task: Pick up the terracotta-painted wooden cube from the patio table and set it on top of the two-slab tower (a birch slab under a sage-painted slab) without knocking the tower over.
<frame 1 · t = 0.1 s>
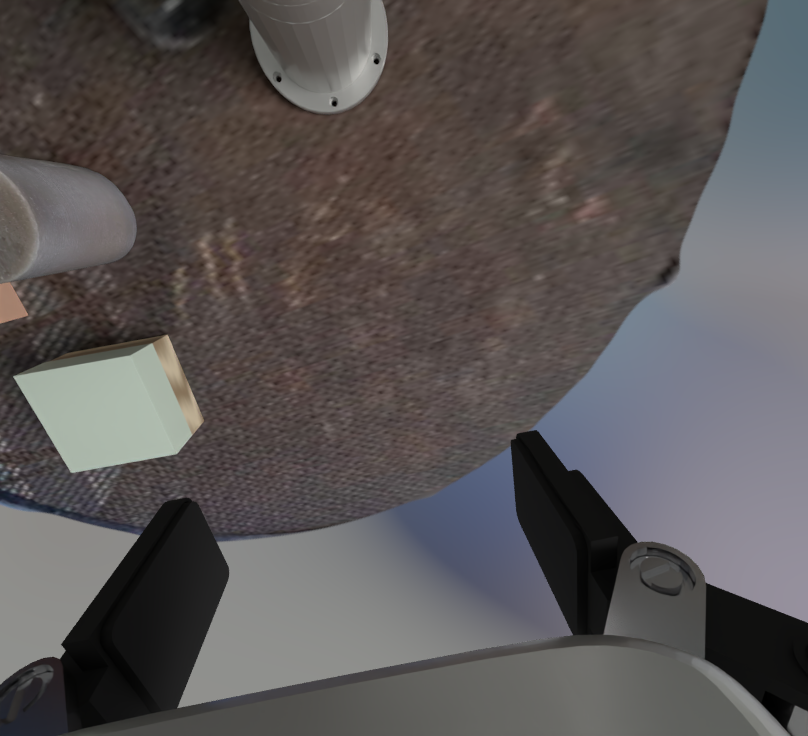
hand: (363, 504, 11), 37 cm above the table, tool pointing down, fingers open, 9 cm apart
pillar candle: (91, 217, 41), on the table
sage slab: (122, 400, 44), point 4 cm above the table, touching birch slab
birch slab: (141, 387, 48), on the table, touching sage slab
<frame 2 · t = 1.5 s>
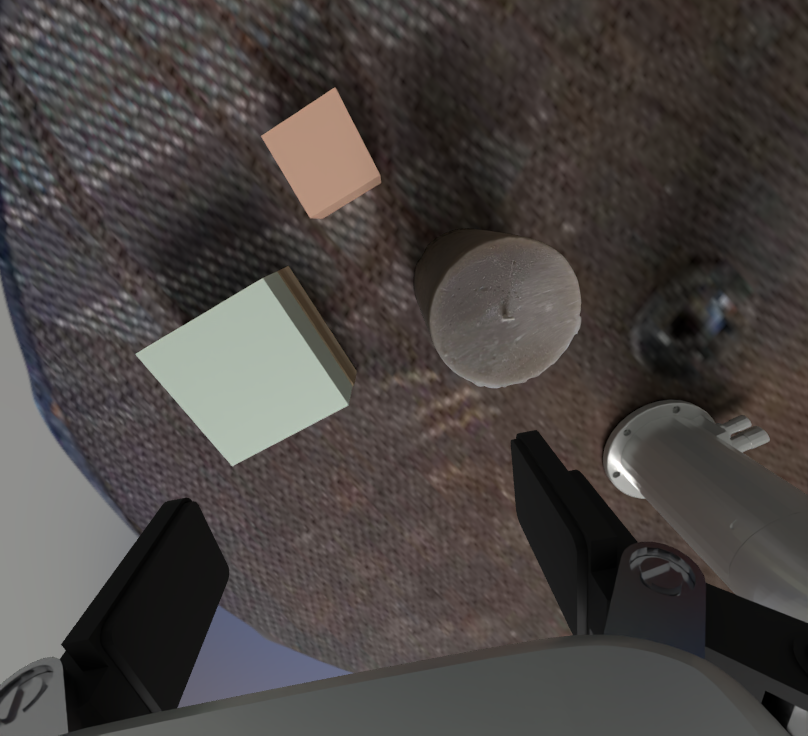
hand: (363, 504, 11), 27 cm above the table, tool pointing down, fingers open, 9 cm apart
pillar candle: (463, 283, 37), on the table
sage slab: (261, 363, 35), point 4 cm above the table, touching birch slab
terracotta cube: (333, 167, 33), on the table
birch slab: (274, 349, 38), on the table, touching sage slab
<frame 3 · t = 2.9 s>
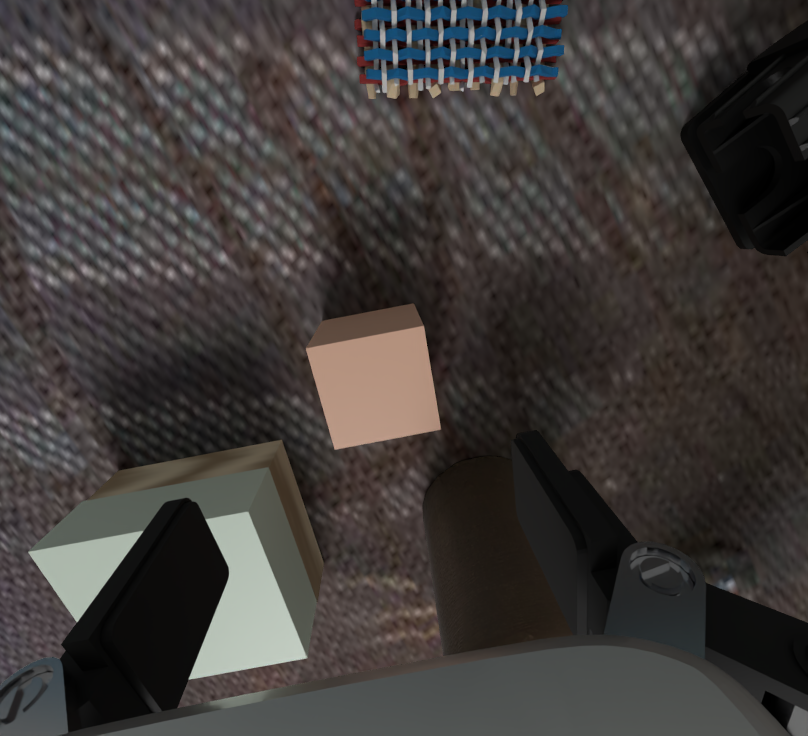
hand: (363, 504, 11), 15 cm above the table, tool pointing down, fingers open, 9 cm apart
end cap: (759, 152, 23), on the table
pillar candle: (480, 506, 31), on the table
sage slab: (208, 555, 26), point 3 cm above the table, touching birch slab
terracotta cube: (377, 355, 26), on the table
birch slab: (230, 515, 30), on the table, touching sage slab
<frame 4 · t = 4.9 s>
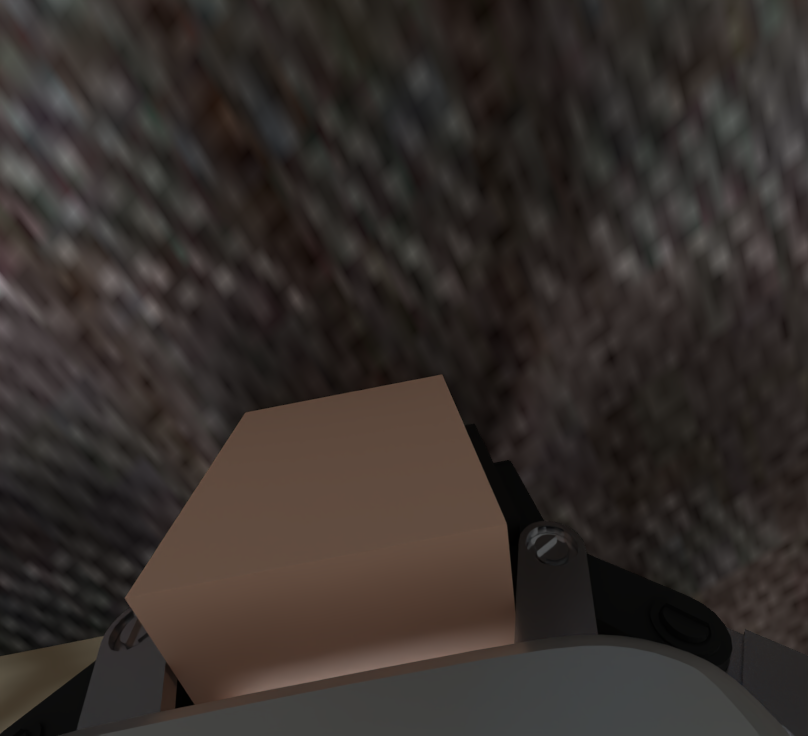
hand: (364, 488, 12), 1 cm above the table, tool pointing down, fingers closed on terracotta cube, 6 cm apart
terracotta cube: (365, 474, 13), on the table, touching gripper
birch slab: (110, 722, 17), on the table, touching sage slab
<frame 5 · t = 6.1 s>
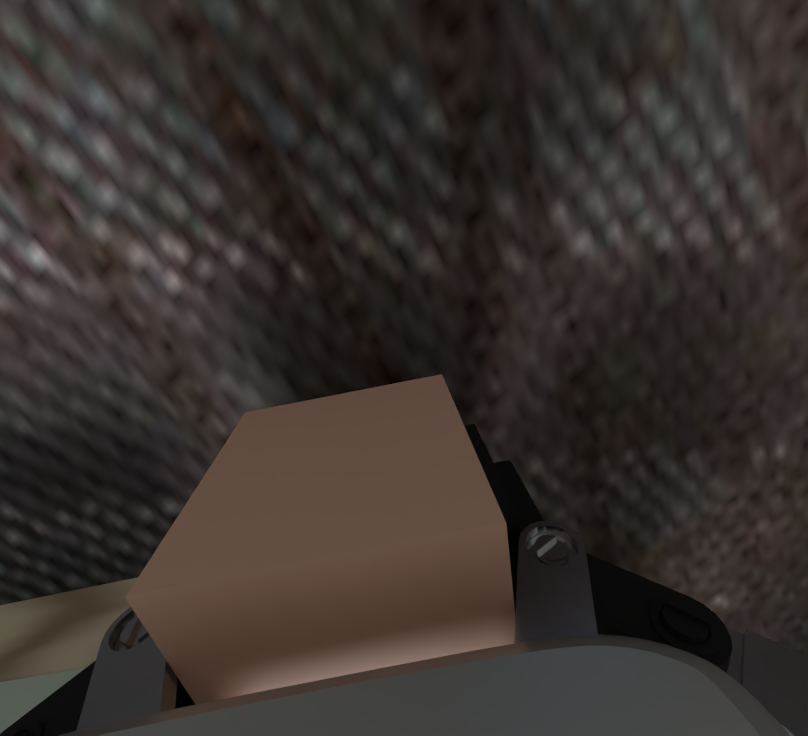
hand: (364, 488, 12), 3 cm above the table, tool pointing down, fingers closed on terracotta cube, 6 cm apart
terracotta cube: (365, 473, 13), point 2 cm above the table, touching gripper
birch slab: (128, 665, 19), on the table, touching sage slab
when the fingers open (10 cm above the table, at t = 11.6 s): terracotta cube drops 2 cm, resting on sage slab.
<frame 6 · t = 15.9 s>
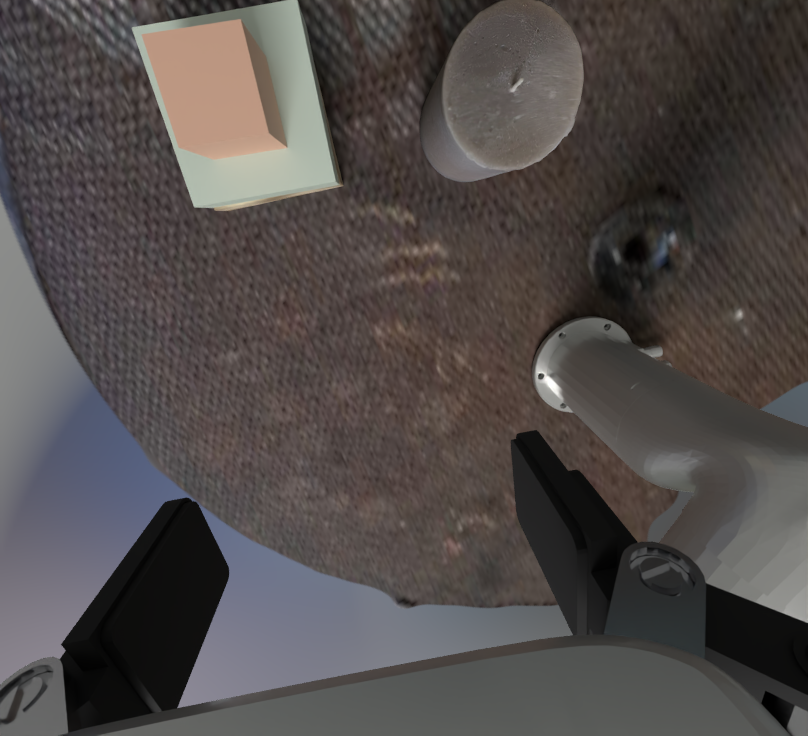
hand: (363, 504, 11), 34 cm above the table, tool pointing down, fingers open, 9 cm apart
pillar candle: (466, 131, 38), on the table
sage slab: (256, 122, 33), point 3 cm above the table, touching birch slab, terracotta cube
terracotta cube: (239, 110, 30), point 8 cm above the table, touching sage slab
birch slab: (267, 132, 37), on the table, touching sage slab
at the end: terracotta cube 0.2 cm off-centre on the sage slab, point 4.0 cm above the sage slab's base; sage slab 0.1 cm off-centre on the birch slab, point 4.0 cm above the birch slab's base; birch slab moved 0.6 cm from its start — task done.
